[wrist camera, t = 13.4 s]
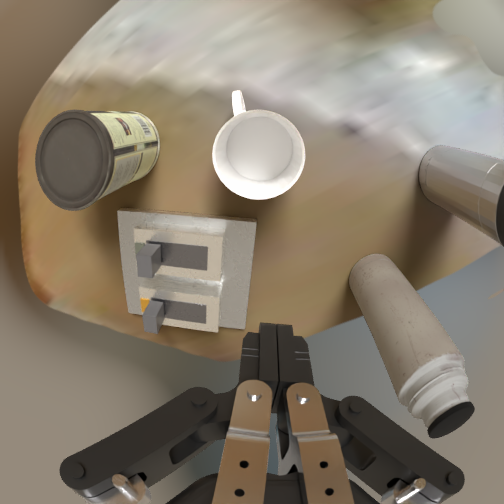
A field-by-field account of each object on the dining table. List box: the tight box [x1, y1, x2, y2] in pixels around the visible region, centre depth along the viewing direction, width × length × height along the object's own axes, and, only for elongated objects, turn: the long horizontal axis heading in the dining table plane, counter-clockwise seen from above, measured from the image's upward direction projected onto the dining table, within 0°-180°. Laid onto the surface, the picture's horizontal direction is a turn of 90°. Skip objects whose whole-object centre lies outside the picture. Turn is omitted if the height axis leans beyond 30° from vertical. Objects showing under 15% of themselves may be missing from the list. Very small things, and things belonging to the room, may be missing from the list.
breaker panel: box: [117, 208, 257, 332], centre depth 41 cm, size 20×18×5 cm
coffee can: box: [35, 110, 160, 211], centre depth 29 cm, size 10×10×14 cm
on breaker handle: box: [136, 243, 161, 279], centre depth 35 cm, size 2×3×4 cm, turn 174°
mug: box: [212, 90, 305, 200], centre depth 30 cm, size 12×9×9 cm
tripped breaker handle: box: [142, 300, 165, 334], centre depth 38 cm, size 2×3×4 cm, turn 174°
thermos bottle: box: [349, 254, 474, 438], centre depth 29 cm, size 8×8×28 cm
